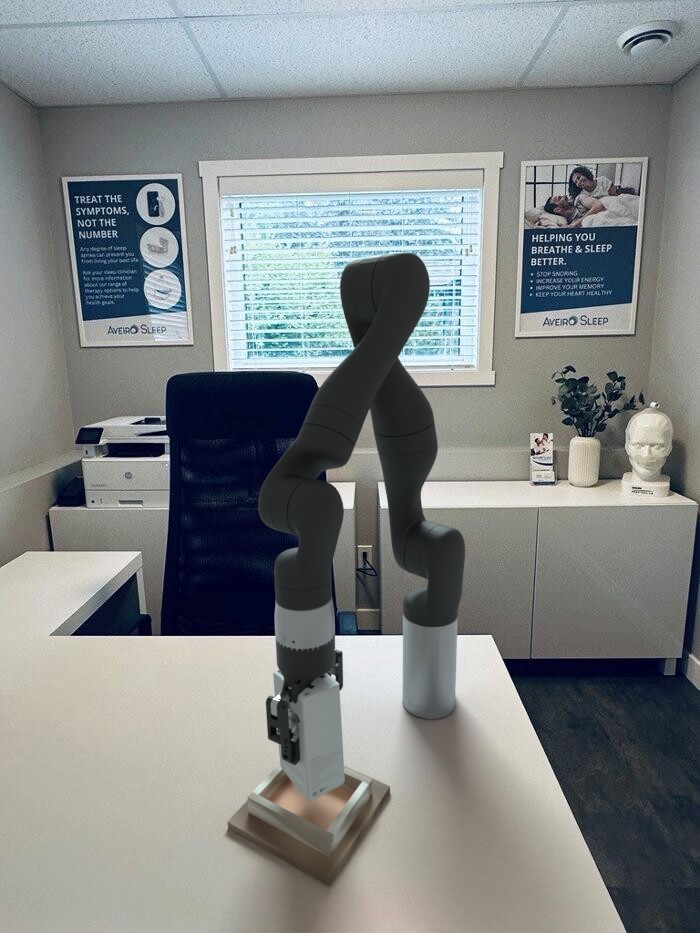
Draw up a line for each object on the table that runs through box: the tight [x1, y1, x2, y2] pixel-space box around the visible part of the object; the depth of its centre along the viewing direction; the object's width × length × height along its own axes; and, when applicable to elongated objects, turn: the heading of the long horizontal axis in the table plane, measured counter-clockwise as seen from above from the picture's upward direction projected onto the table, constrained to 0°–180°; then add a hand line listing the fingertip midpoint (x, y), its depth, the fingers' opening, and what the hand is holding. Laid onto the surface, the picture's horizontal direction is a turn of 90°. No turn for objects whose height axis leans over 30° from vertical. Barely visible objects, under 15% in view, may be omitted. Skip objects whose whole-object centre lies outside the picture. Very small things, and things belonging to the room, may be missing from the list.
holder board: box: [227, 762, 391, 887], centre depth 75 cm, size 16×16×4 cm
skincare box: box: [272, 669, 345, 802], centre depth 73 cm, size 8×6×15 cm
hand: (309, 741), depth 73 cm, fingers closed on skincare box, 7 cm apart
